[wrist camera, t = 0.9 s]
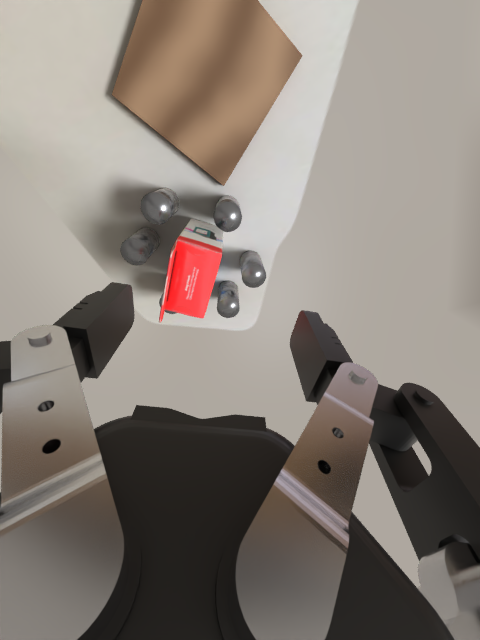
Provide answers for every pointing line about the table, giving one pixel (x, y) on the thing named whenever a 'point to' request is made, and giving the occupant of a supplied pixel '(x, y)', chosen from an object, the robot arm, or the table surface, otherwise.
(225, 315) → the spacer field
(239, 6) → the walnut board
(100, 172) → the table surface
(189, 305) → the ink box
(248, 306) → the table surface
